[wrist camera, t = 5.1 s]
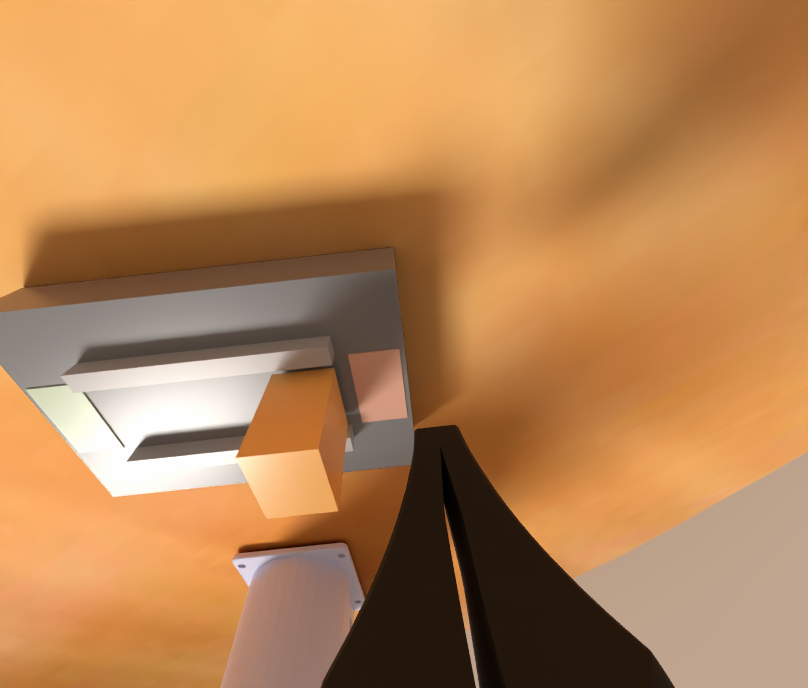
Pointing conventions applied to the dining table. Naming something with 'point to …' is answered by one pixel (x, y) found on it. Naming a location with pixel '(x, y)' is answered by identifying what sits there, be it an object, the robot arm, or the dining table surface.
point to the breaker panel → (209, 362)
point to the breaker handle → (296, 445)
